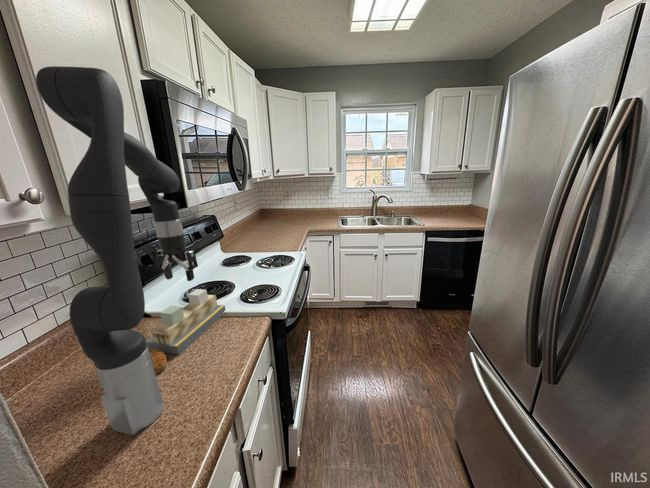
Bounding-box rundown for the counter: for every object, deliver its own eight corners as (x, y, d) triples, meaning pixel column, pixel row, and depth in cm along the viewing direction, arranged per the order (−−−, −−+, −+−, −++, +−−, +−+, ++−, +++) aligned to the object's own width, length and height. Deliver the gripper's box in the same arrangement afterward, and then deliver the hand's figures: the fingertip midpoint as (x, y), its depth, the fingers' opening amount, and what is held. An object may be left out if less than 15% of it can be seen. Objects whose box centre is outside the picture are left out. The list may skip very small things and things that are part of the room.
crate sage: (173, 324, 84) (171, 314, 83) (162, 323, 85) (159, 312, 84) (184, 317, 88) (181, 306, 87) (173, 315, 89) (170, 305, 88)
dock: (179, 354, 81) (176, 346, 81) (148, 349, 84) (145, 341, 83) (226, 312, 105) (224, 305, 104) (200, 309, 108) (199, 302, 107)
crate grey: (200, 305, 95) (198, 295, 94) (190, 304, 96) (187, 294, 95) (208, 299, 100) (206, 289, 98) (198, 298, 101) (196, 289, 100)
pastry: (174, 365, 77) (171, 355, 76) (149, 380, 72) (145, 369, 71) (160, 353, 83) (157, 343, 82) (135, 367, 78) (132, 356, 76)
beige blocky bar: (170, 344, 82) (166, 331, 80) (154, 342, 83) (151, 329, 82) (217, 305, 104) (215, 295, 103) (204, 304, 105) (202, 294, 104)
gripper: (142, 235, 82) (154, 282, 87) (180, 236, 79) (189, 285, 84) (161, 230, 89) (171, 274, 94) (197, 231, 86) (205, 276, 91)
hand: (180, 279), depth 89 cm, fingers open, 8 cm apart
